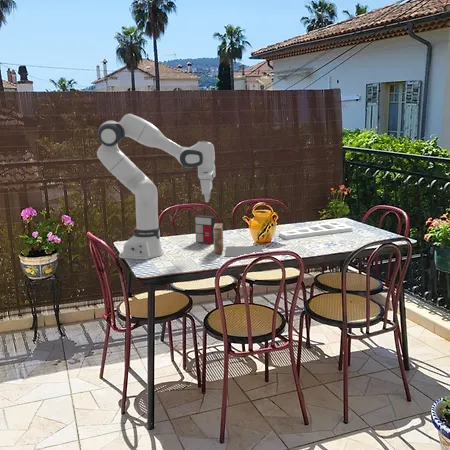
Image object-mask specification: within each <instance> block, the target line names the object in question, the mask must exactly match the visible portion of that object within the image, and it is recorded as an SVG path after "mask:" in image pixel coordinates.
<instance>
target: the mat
mask: <svg viewBox="0 0 450 450" xmlns="http://www.w3.org/2000/svg"><path fill="white" fill-rule="evenodd" d="M263 246H264V247H263ZM265 248H266V246H265V245H258V246H257V245H256V246H255V245H250V246H249V245H248V246H247V245H246V246H244V245H243V246H242V245H240V246H232V245H231V246H226V247H225V251H224V252H225V254H224V258H225V257H226V258H227V257H229V258H231V257H234V258H235V257H236V256H240V255H244V254H250V253H253V252H255V253H256V252H263V250H262V249H265Z"/></svg>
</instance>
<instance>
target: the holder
mask: <svg viewBox="0 0 450 450" xmlns="http://www.w3.org/2000/svg"><path fill="white" fill-rule="evenodd" d="M346 232H353V227H352V226H350V225H347V224H344V223H342V222H338V221H329V222H323V223H320V224H319V223H317V224H313V225H310V226H302V227H301V228H294V229H290V230H288V231H287V230H285V231H280V232H279V231H278V236H279V237H280V238H282V239H284V240H291V239H299V238H307V237H315V236H323V235H330V234H339V233H346Z"/></svg>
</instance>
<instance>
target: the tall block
mask: <svg viewBox="0 0 450 450" xmlns="http://www.w3.org/2000/svg"><path fill="white" fill-rule="evenodd" d="M223 224H224V223H216V222H215V225H214V228H213V231H214V243H213V255H214V256H215V255H216V256H222V255H223V252H224V229H223V228H224V225H223Z"/></svg>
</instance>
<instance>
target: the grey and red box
mask: <svg viewBox="0 0 450 450" xmlns="http://www.w3.org/2000/svg"><path fill="white" fill-rule="evenodd" d="M215 223H216V216H212V215H211V216H210V215H203V214H201V215H199V214H197V215H196V216H195V217H194V226H195V227H194V229H195V242H196V243H201V244H209V245H214V231H213V228H214V225H215Z"/></svg>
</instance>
